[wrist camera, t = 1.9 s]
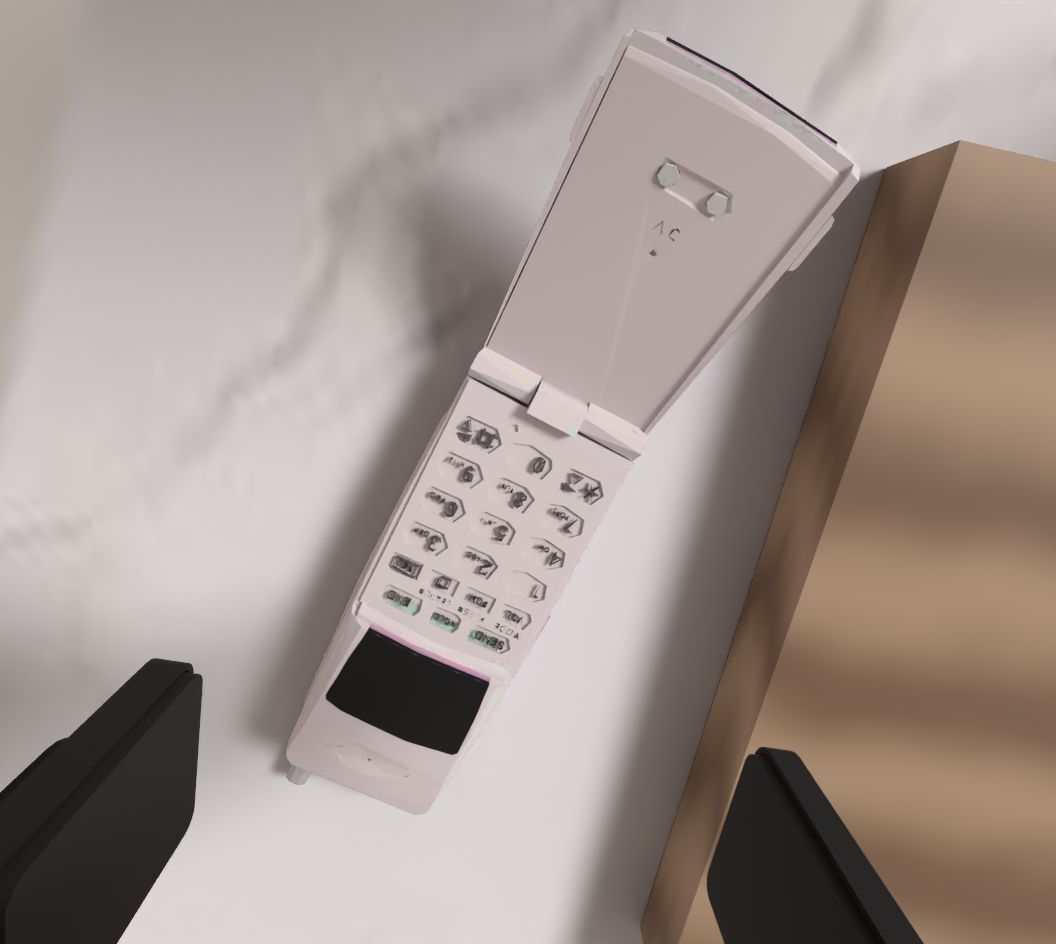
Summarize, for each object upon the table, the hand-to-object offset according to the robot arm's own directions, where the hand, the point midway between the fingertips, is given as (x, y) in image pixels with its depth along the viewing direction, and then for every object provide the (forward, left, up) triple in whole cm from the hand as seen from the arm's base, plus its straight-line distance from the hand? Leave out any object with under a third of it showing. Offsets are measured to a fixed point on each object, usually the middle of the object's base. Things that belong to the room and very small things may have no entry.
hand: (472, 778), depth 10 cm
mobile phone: (-1, 0, -11) cm, 11 cm away
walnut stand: (+1, +16, -11) cm, 20 cm away
